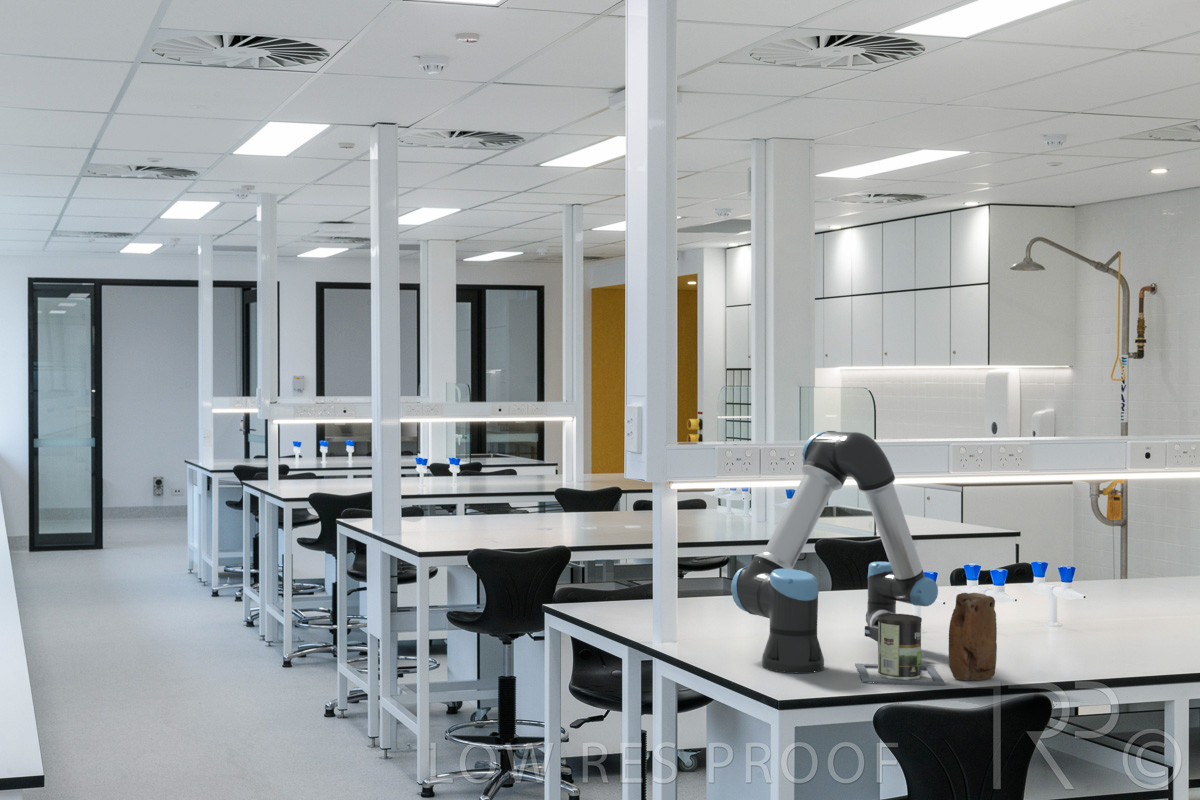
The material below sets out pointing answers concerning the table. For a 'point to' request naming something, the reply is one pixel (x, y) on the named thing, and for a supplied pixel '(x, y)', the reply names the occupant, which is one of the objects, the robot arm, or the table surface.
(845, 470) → the robot arm
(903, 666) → the coffee can
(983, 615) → the brown rough upright block
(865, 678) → the flat grey frame
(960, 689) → the table surface
